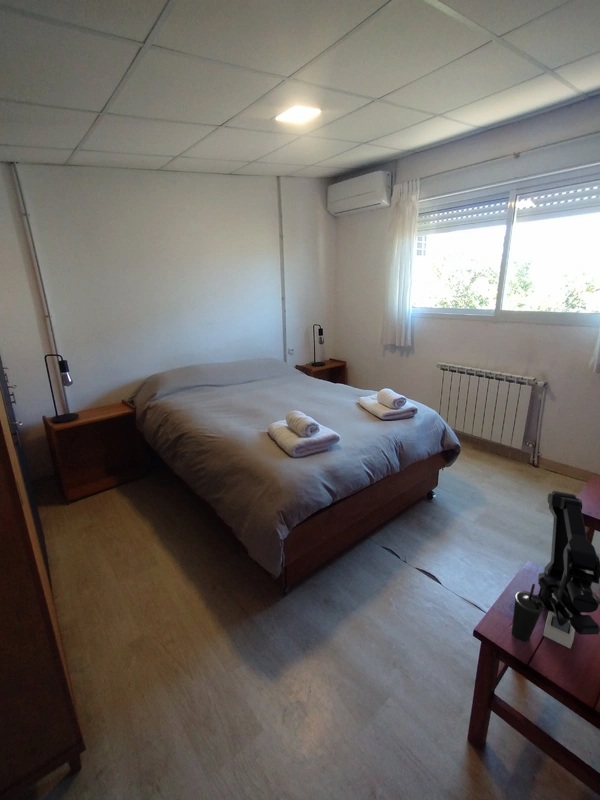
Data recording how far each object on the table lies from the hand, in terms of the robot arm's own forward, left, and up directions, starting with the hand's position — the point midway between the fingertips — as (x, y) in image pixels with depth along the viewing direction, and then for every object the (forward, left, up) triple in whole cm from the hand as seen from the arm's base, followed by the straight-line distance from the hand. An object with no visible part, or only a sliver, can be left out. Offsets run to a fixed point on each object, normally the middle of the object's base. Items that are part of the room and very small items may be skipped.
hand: (560, 624), depth 115 cm
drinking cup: (-3, -12, -4) cm, 13 cm away
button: (0, 0, -3) cm, 3 cm away
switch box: (0, 0, -4) cm, 4 cm away
